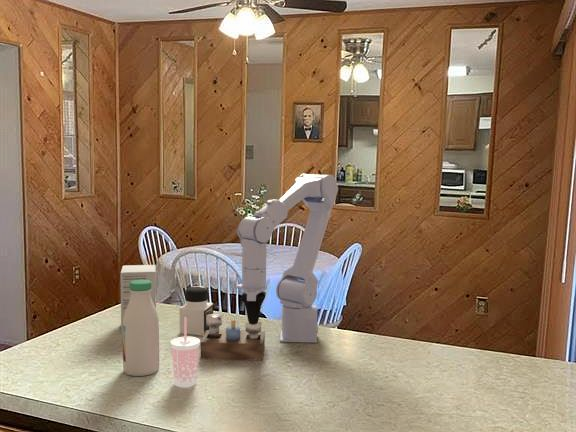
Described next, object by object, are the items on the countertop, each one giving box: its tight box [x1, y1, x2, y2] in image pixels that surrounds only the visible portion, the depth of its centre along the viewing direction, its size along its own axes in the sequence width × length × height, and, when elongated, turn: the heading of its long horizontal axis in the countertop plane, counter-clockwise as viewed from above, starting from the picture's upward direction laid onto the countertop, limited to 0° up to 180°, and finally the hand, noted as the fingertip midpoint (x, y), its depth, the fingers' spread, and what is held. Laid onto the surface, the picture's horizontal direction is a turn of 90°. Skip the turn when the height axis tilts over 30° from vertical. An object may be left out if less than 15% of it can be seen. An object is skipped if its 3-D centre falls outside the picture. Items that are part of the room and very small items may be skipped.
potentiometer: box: [225, 319, 241, 340], centre depth 128 cm, size 3×3×4 cm
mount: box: [200, 329, 266, 361], centre depth 130 cm, size 14×9×4 cm, turn 89°
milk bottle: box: [122, 280, 160, 377], centre depth 117 cm, size 8×8×20 cm
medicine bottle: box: [179, 285, 214, 336], centre depth 145 cm, size 7×7×12 cm
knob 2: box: [245, 320, 262, 340], centre depth 129 cm, size 4×4×6 cm
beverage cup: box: [170, 317, 201, 388], centre depth 111 cm, size 6×6×14 cm
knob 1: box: [206, 313, 223, 339], centre depth 129 cm, size 4×4×6 cm
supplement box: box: [119, 264, 157, 335], centre depth 146 cm, size 10×9×17 cm
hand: (253, 322), depth 129 cm, fingers closed, pressing on knob 2
